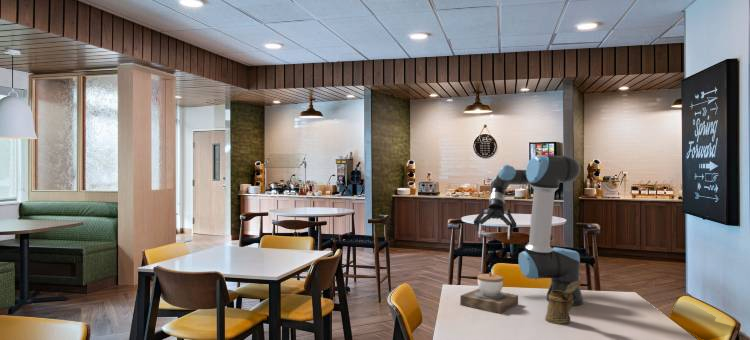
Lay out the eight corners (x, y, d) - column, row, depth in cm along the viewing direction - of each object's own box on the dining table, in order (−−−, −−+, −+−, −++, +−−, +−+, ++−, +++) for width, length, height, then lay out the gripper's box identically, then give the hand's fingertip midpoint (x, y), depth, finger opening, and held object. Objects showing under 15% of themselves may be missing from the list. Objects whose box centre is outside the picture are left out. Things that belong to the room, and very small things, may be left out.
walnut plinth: (518, 304, 219) (518, 294, 219) (499, 313, 205) (499, 302, 205) (480, 296, 230) (480, 287, 230) (460, 304, 216) (460, 294, 216)
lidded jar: (476, 296, 213) (477, 274, 213) (477, 290, 224) (477, 269, 224) (502, 298, 211) (503, 276, 211) (502, 292, 221) (502, 271, 221)
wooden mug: (568, 329, 187) (569, 280, 187) (540, 318, 199) (541, 273, 198) (584, 326, 191) (586, 278, 191) (556, 316, 203) (557, 271, 203)
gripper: (522, 209, 255) (520, 243, 241) (472, 206, 263) (467, 239, 249) (522, 199, 250) (520, 233, 236) (471, 197, 258) (466, 230, 244)
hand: (493, 236), depth 242 cm, fingers open, 13 cm apart
